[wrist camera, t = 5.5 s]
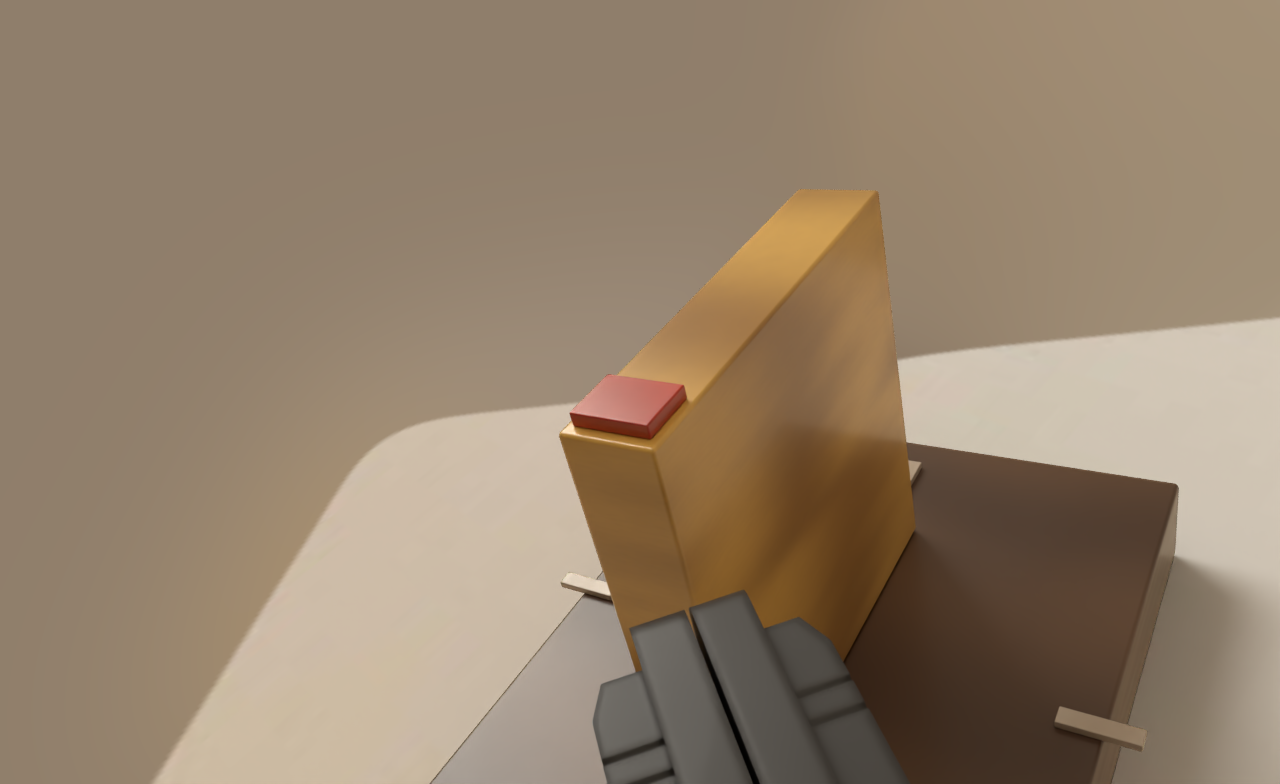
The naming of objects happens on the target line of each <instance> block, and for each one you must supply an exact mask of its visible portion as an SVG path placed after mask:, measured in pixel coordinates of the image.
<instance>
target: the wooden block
mask: <svg viewBox="0 0 1280 784" xmlns="http://www.w3.org/2000/svg"><path fill="white" fill-rule="evenodd" d="M570 417H571V420H572V421H571V422H570V423H569V424H568V425H567V426H566V427H565V428H564V429H563V430H562V431H561V432H560V434H559V438H560V441H561V444H562V447H563V450H564V453H565V456H566V459H567V462H568V465H569V468H570V471H571V474H572V478H573V481H574V484H575V487H576V490H577V493H578V496H579V499H580V502H581V505H582V508H583V511H584V514H585V518H586V521H587V524H588V527H589V530H590V533H591V536H592V539H593V542H594V545H595V548H596V551H597V554H598V558H599V561H600V564H601V567H602V570H603V573H604V576H605V579H606V582H607V585H608V588H609V591H610V594H611V598H612V601H613V604H614V607H615V610H616V613H617V616H618V619H619V622H620V625H621V628H622V631H623V634H624V638H625V641H626V644H627V647H628V650H629V653H630V656H631V659H632V662H633V665H634V668H635V671H636V672H638V671H641V670H642V668H641V664H640V661H639V658H638V655H637V652H636V649H635V645H634V642H633V639H632V636H631V633H630V629H629V628H631V627H634V626H637V625H640V624H643V623H646V622H649V621H652V620H655V619H658V618H661V617H664V616H667V615H670V614H673V613H676V612H679V611H682V610H685V612H686V614H687V616H688V619H689V621H690V624H691V627H692V629H693V625H692V621H691V617H690V613H689V608H690V607H693V606H696V605H699V604H702V603H705V602H708V601H711V600H714V599H717V598H720V597H723V596H726V595H729V594H731V593H734V592H737V591H740V590H743V589H744V590H745V591H746V593H747V595H748V596H749V598H750V600H751V602H752V605H753V607H754V609H755V611H756V613H757V615H758V617H759V619H760V621H761V623H762V625H763V627H764V628H767V627H770V626H773V625H776V624H779V623H782V622H785V621H788V620H791V619H794V618H797V617H800V618H802V619H803V620H804V621H806V622H807V623H808V624H810V625H811V626H812V627H814V628H815V629H816V630H818V631H819V632H821V633H822V634H823V635H825V636H826V637H827V638H829V639H830V640H831V641H832V643H833V645H834V646H835V648H836V650H837V652H838V654H839V655H840V657H841V659H842V661H844V659H845V658H846V656H847V654H848V652H849V650H850V648H851V646H852V645H853V643H854V641H855V639H856V637H857V635H858V634H859V632H860V630H861V628H862V626H863V624H864V622H865V621H866V619H867V617H868V615H869V613H870V611H871V609H872V608H873V606H874V604H875V602H876V600H877V598H878V596H879V595H880V593H881V591H882V589H883V587H884V585H885V584H886V582H887V580H888V578H889V576H890V574H891V572H892V571H893V569H894V567H895V565H896V563H897V561H898V559H899V558H900V556H901V554H902V552H903V550H904V548H905V547H906V545H907V543H908V541H909V539H910V537H911V535H912V534H913V532H914V530H915V528H916V524H915V515H914V507H913V498H912V489H911V480H910V471H909V462H908V453H907V444H906V435H905V426H904V417H903V408H902V399H901V390H900V381H899V372H898V363H897V354H896V345H895V337H894V328H893V319H892V310H891V301H890V292H889V284H888V274H887V265H886V256H885V247H884V238H883V230H882V221H881V211H880V203H879V194H878V191H868V190H865V191H864V190H813V189H810V190H809V189H800V190H798V191H797V192H796V193H795V194H794V195H793V196H792V197H791V198H790V199H789V200H788V201H787V202H786V203H785V204H784V205H783V206H782V207H781V208H780V209H779V210H778V211H777V212H776V213H775V214H774V215H773V216H772V217H771V218H770V220H768V222H766V223H765V224H764V225H763V226H762V227H761V228H760V230H759V231H757V233H756V234H755V235H754V236H753V237H752V238H751V239H750V240H749V241H748V242H747V243H746V244H745V245H744V246H743V247H742V248H741V249H740V250H739V251H738V252H737V253H736V254H735V255H734V256H733V257H732V258H731V259H730V260H729V261H728V262H727V263H726V264H725V265H724V266H723V267H722V268H721V269H720V270H719V271H718V272H717V273H716V274H715V275H714V276H713V277H712V278H711V279H710V280H709V281H708V283H706V284H705V285H704V286H703V287H702V288H701V289H700V290H699V292H698V293H697V294H696V295H695V296H694V297H693V298H692V299H691V300H690V301H689V302H688V303H687V304H686V305H685V306H684V307H683V308H682V309H681V310H680V311H679V312H678V313H677V314H676V315H675V316H674V317H673V318H672V319H671V320H670V321H669V322H668V323H667V324H666V325H665V326H664V327H663V328H662V329H661V330H660V331H659V332H658V333H657V334H656V335H655V336H654V337H653V338H652V339H651V340H650V341H649V342H648V343H647V344H646V346H645V347H643V349H642V350H641V351H640V352H639V353H638V354H637V355H636V356H635V357H634V358H633V359H632V360H631V361H630V362H629V363H628V364H627V365H626V366H625V367H624V368H623V369H622V370H621V371H620V372H619V373H618V374H617V375H611V374H608V375H606V376H605V378H603V379H602V381H600V382H599V384H597V385H596V386H595V388H593V390H591V391H590V392H589V394H588V395H587V396H586V397H585V398H584V399H583V400H582V401H581V402H580V403H579V404H578V405H577V406H576V407H575V408H574V409H573V410H572V411H571V412H570ZM693 632H694V629H693ZM694 634H695V632H694ZM695 637H696V636H695Z"/></svg>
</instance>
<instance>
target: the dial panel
mask: <svg viewBox="0 0 1280 784" xmlns="http://www.w3.org/2000/svg"><path fill="white" fill-rule="evenodd" d="M906 444H907V453H908V462H909V471H910V480H911V489H912V498H913V507H914V515H915V524H916V528H915V530H914V532H913V534H912V535H911V537H910V539H909V541H908V543H907V545H906V547H905V548H904V550H903V552H902V554H901V556H900V558H899V559H898V561H897V563H896V565H895V567H894V569H893V571H892V572H891V574H890V576H889V578H888V580H887V582H886V584H885V585H884V587H883V589H882V591H881V593H880V595H879V596H878V598H877V600H876V602H875V604H874V606H873V608H872V609H871V611H870V613H869V615H868V617H867V619H866V621H865V622H864V624H863V626H862V628H861V630H860V632H859V634H858V635H857V637H856V639H855V641H854V643H853V645H852V646H851V648H850V650H849V652H848V654H847V656H846V658H845V659H844V661H843V663H844V664H845V666H846V668H847V670H848V672H849V673H850V677H851V679H852V680H853V681H854V683H855V684H856V686H857V688H858V690H859V692H860V693H861V695H862V697H863V699H864V701H865V704H866V706H867V708H869V710H870V712H871V713H872V715H873V717H874V719H875V721H876V722H877V724H878V726H879V728H880V730H881V731H882V733H883V735H884V737H885V739H886V740H887V742H888V744H889V746H890V748H891V750H892V751H893V753H894V755H895V757H896V759H897V760H898V762H899V764H900V766H901V768H902V769H903V771H904V773H905V775H906V777H907V778H908V780H909V782H910V784H1111V781H1112V777H1113V774H1114V770H1115V766H1116V763H1117V759H1118V756H1119V752H1120V748H1121V746H1123V747H1126V748H1130V749H1133V750H1137V751H1140V752H1142V751H1143V749H1144V745H1145V741H1146V737H1147V730H1145V729H1141V728H1137V727H1134V726H1130V725H1127V723H1128V720H1129V716H1130V712H1131V709H1132V705H1133V702H1134V698H1135V695H1136V691H1137V687H1138V684H1139V680H1140V677H1141V673H1142V669H1143V666H1144V662H1145V659H1146V655H1147V651H1148V648H1149V644H1150V641H1151V637H1152V633H1153V630H1154V626H1155V623H1156V619H1157V615H1158V612H1159V608H1160V605H1161V601H1162V597H1163V594H1164V590H1165V587H1166V583H1167V579H1168V576H1169V572H1170V569H1171V565H1172V562H1173V558H1174V554H1175V545H1176V528H1177V510H1178V493H1179V488H1178V485H1176V484H1173V483H1167V482H1160V481H1154V480H1147V479H1141V478H1134V477H1128V476H1121V475H1115V474H1108V473H1102V472H1095V471H1089V470H1082V469H1076V468H1069V467H1063V466H1056V465H1050V464H1043V463H1037V462H1030V461H1024V460H1017V459H1011V458H1004V457H998V456H991V455H985V454H978V453H972V452H965V451H959V450H952V449H946V448H939V447H933V446H926V445H920V444H913V443H907V442H906ZM561 585H562V587H564V588H568V589H572V590H575V591H579V592H582V593H585V594H584V595H583V596H582V597H581V598H580V600H579V601H578V602H577V603H576V605H575V606H574V607H573V608H572V610H571V611H570V612H569V613H568V614H567V616H566V617H565V618H564V619H563V621H562V622H561V623H560V624H559V625H558V627H557V628H556V629H555V630H554V632H553V633H552V634H551V635H550V637H549V638H548V639H547V640H546V641H545V643H544V644H543V645H542V646H541V648H540V649H539V650H538V651H537V653H536V654H535V655H534V656H533V657H532V659H531V660H530V661H529V662H528V664H527V665H526V666H525V667H524V669H523V670H522V671H521V672H520V673H519V675H518V676H517V677H516V678H515V680H514V681H513V682H512V683H511V684H510V686H509V687H508V688H507V689H506V691H505V692H504V693H503V694H502V696H501V697H500V698H499V699H498V700H497V702H496V703H495V704H494V705H493V707H492V708H491V709H490V710H489V712H488V713H487V714H486V715H485V716H484V718H483V719H482V720H481V721H480V723H479V724H478V725H477V726H476V727H475V729H474V730H473V731H472V732H471V734H470V735H469V736H468V737H467V739H466V740H465V741H464V742H463V743H462V745H461V746H460V747H459V748H458V750H457V751H456V752H455V753H454V755H453V756H452V757H451V758H450V759H449V761H448V762H447V763H446V764H445V766H444V767H443V768H442V769H441V771H440V772H439V773H438V774H437V775H436V777H435V778H434V779H433V780H432V782H431V783H430V784H607V781H606V777H605V773H604V769H603V763H602V760H601V756H600V752H599V748H598V744H597V740H596V736H595V732H594V728H593V723H592V721H593V716H594V712H595V708H596V703H597V699H598V695H599V690H600V686H601V684H602V683H605V682H608V681H611V680H614V679H617V678H620V677H623V676H626V675H629V674H632V673H635V672H636V671H635V668H634V665H633V662H632V659H631V656H630V653H629V650H628V647H627V644H626V641H625V638H624V634H623V631H622V628H621V625H620V622H619V619H618V616H617V613H616V610H615V607H614V604H613V601H612V598H611V594H610V591H609V588H608V585H607V582H606V579H605V576H604V573H603V571H602V573H601V574H600V575H599V576H598V578H597V579H593V578H589V577H586V576H582V575H578V574H575V573H571V572H568V574H567V575H566V576H565V577H564V578H563V580H562V581H561Z"/></svg>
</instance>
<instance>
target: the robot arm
mask: <svg viewBox="0 0 1280 784" xmlns="http://www.w3.org/2000/svg"><path fill="white" fill-rule="evenodd" d="M689 613H690V617H691V621H692V625H693V629H694V632H695V634H694V632H693V629H692V627H691V624H690V621H689V619H688V616H687V614H686V612H685V610H682V611H679V612H676V613H673V614H670V615H667V616H664V617H661V618H658V619H655V620H652V621H649V622H646V623H643V624H640V625H637V626H634V627H631V628H629V629H630V633H631V636H632V639H633V642H634V645H635V649H636V652H637V655H638V658H639V661H640V664H641V668H642V670H641V671H638V672H635V673H632V674H629V675H626V676H623V677H620V678H617V679H614V680H611V681H608V682H605V683H602V684H601V686H600V690H599V695H598V699H597V703H596V708H595V712H594V716H593V721H592V723H593V728H594V732H595V736H596V740H597V744H598V748H599V752H600V756H601V760H602V763H603V769H604V773H605V777H606V781H607V784H910V782H909V780H908V778H907V777H906V775H905V773H904V771H903V769H902V768H901V766H900V764H899V762H898V760H897V759H896V757H895V755H894V753H893V751H892V750H891V748H890V746H889V744H888V742H887V740H886V739H885V737H884V735H883V733H882V731H881V730H880V728H879V726H878V724H877V722H876V721H875V719H874V717H873V715H872V713H871V712H870V710H869V708H867V706H866V704H865V701H864V699H863V697H862V695H861V693H860V692H859V690H858V688H857V686H856V684H855V683H854V681H853V680H852V679H851V677H850V673H849V672H848V670H847V668H846V666H845V664H844V663H843V661H842V659H841V657H840V655H839V654H838V652H837V650H836V648H835V646H834V645H833V643H832V641H831V640H830V639H829V638H827V637H826V636H825V635H823V634H822V633H821V632H819V631H818V630H816V629H815V628H814V627H812V626H811V625H810V624H808V623H807V622H806V621H804V620H803V619H802V618H800V617H797V618H794V619H791V620H788V621H785V622H782V623H779V624H776V625H773V626H770V627H767V628H764V627H763V625H762V623H761V621H760V619H759V617H758V615H757V613H756V611H755V609H754V607H753V605H752V602H751V600H750V598H749V596H748V595H747V593H746V591H745V590H744V589H743V590H740V591H737V592H734V593H731V594H729V595H726V596H723V597H720V598H717V599H714V600H711V601H708V602H705V603H702V604H699V605H696V606H693V607H690V608H689ZM695 636H696V637H695Z"/></svg>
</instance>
